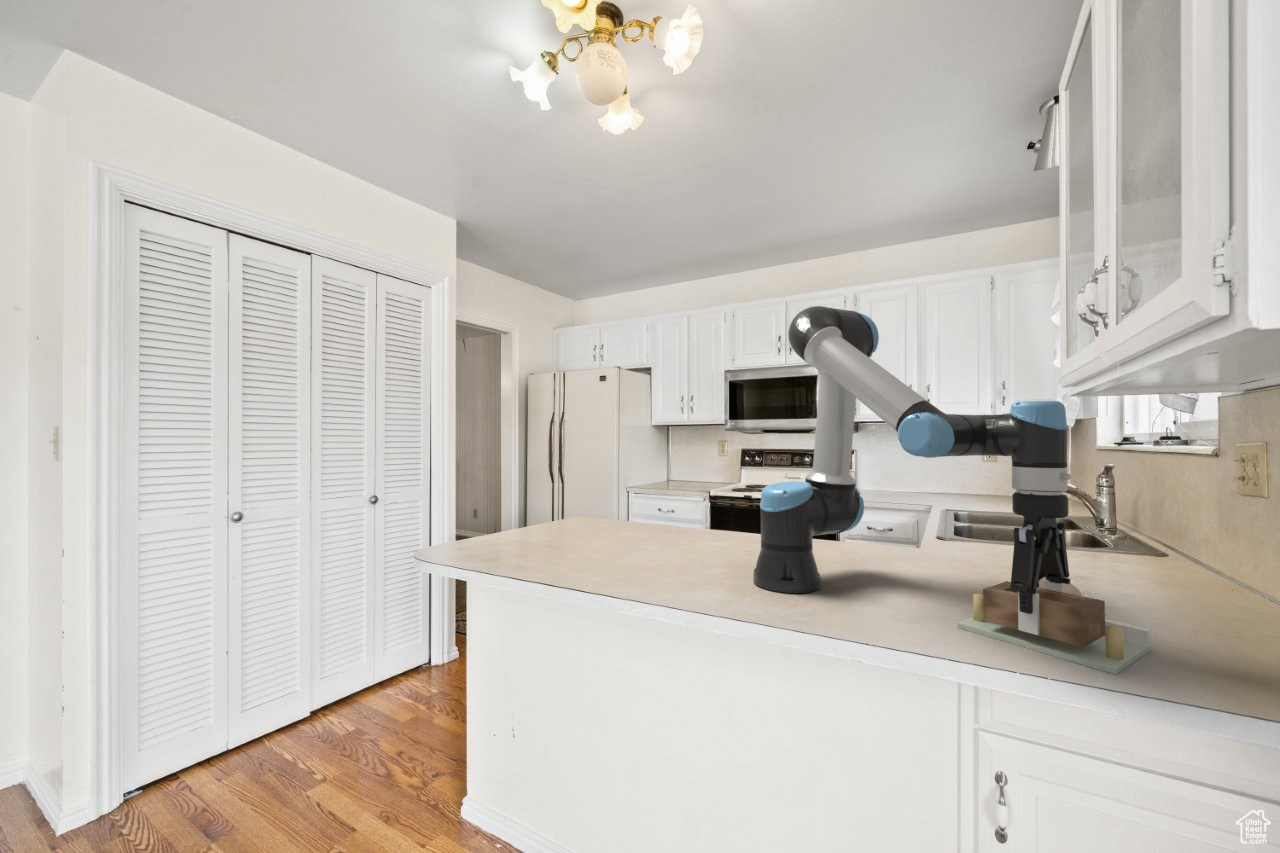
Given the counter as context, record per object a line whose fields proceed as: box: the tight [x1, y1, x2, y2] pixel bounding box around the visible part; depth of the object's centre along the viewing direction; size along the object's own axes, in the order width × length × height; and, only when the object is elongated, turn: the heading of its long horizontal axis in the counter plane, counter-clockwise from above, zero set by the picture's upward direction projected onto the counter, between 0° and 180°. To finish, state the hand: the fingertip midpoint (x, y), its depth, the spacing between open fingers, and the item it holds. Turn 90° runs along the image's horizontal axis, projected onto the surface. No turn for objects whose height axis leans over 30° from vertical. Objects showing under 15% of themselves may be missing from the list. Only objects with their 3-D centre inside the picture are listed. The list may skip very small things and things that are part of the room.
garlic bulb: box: [1039, 577, 1083, 596], centre depth 103 cm, size 7×6×8 cm
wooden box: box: [982, 580, 1106, 647], centre depth 88 cm, size 14×9×6 cm, turn 33°
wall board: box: [956, 593, 1152, 675], centre depth 90 cm, size 22×16×5 cm
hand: (1041, 626), depth 88 cm, fingers closed on wooden box, 9 cm apart
